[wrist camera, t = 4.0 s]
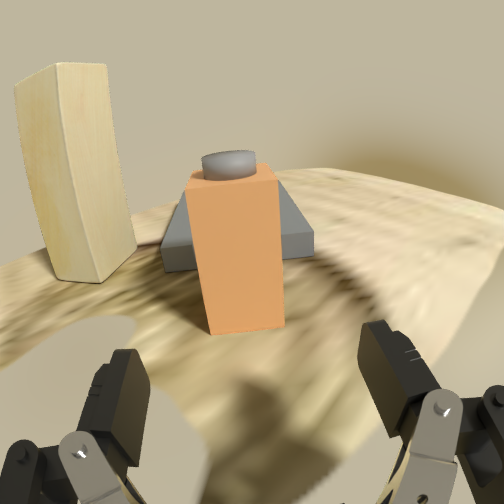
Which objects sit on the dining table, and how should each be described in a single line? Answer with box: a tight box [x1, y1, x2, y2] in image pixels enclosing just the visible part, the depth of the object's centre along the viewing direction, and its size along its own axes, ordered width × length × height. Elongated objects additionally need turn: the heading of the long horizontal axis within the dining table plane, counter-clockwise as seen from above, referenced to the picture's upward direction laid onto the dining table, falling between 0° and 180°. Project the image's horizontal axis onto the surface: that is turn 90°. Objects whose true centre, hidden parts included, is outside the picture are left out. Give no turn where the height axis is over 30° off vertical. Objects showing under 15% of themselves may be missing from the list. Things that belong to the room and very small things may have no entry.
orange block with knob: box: [185, 150, 285, 335], centre depth 21 cm, size 5×5×11 cm
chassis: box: [160, 180, 314, 273], centre depth 38 cm, size 20×14×2 cm
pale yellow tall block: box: [14, 62, 137, 283], centre depth 28 cm, size 8×7×21 cm
